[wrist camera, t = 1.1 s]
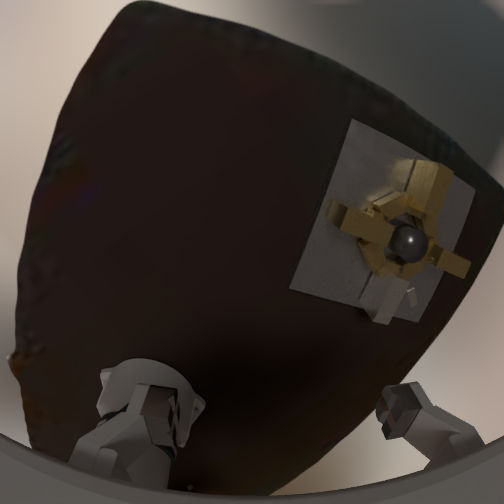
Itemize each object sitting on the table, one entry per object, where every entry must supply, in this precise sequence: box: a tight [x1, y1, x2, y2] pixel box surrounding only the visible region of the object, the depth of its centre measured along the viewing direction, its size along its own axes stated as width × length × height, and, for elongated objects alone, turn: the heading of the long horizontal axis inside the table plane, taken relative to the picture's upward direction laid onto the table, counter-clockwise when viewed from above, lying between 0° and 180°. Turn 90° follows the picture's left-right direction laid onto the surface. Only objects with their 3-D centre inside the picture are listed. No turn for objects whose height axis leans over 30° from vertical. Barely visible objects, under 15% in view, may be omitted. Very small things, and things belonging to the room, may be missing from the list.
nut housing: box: [287, 119, 476, 322], centre depth 34 cm, size 22×22×7 cm
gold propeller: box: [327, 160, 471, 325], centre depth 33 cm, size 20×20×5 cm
